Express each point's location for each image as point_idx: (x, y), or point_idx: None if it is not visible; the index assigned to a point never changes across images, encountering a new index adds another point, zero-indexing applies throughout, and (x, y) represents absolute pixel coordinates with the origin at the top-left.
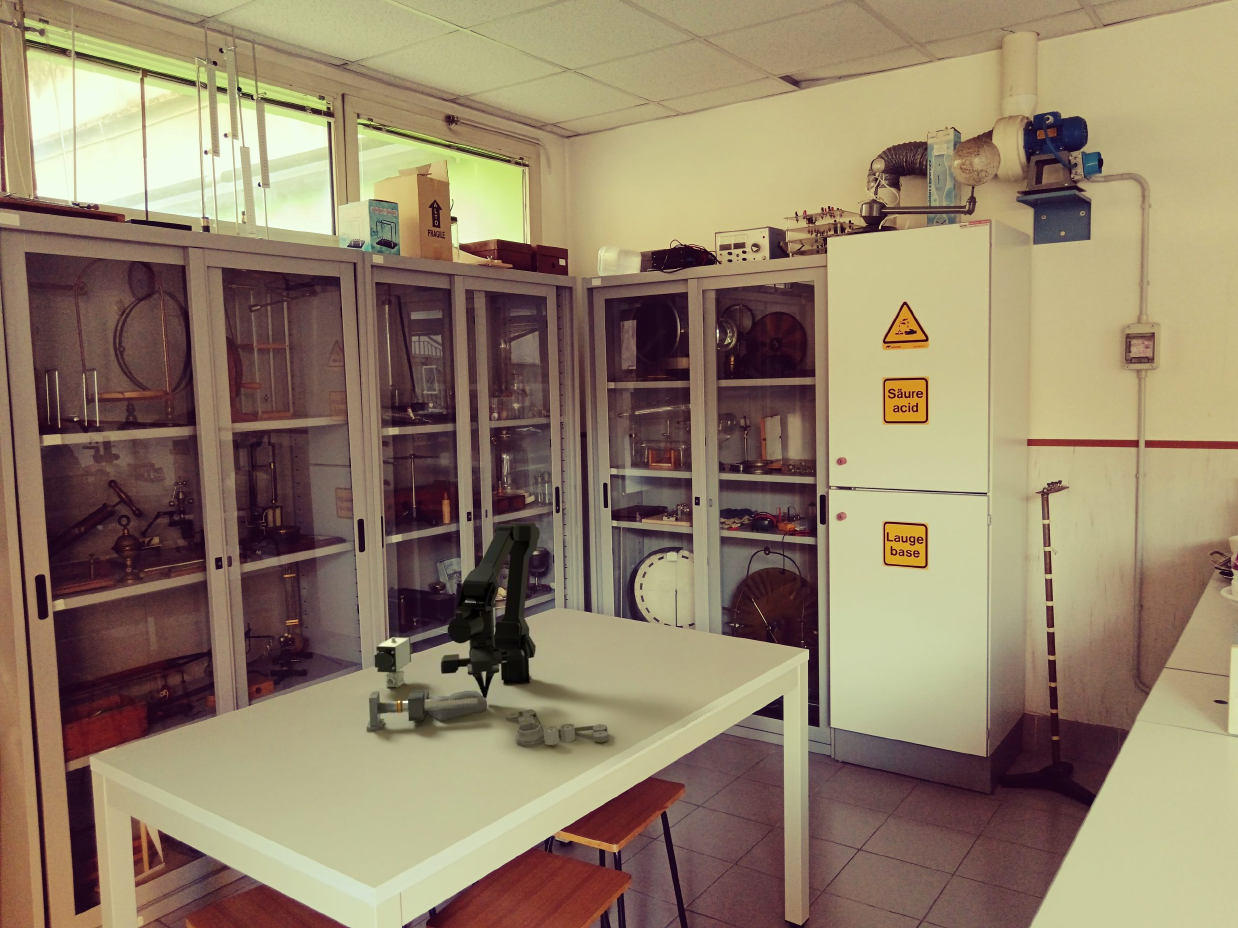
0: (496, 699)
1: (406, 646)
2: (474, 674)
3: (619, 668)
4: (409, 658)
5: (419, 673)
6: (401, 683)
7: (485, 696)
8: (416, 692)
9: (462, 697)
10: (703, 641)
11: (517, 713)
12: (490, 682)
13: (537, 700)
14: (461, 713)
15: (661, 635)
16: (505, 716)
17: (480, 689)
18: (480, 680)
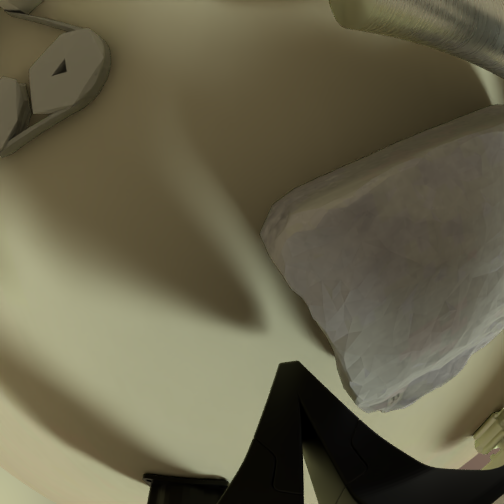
0: (226, 393)
1: None
2: (481, 485)
3: (17, 452)
4: None
5: None
6: (485, 426)
7: (286, 368)
8: None
9: (502, 5)
10: (4, 466)
11: (36, 90)
12: (245, 458)
13: (36, 344)
14: (428, 130)
15: (54, 499)
16: (104, 52)
17: (336, 399)
18: (359, 463)
